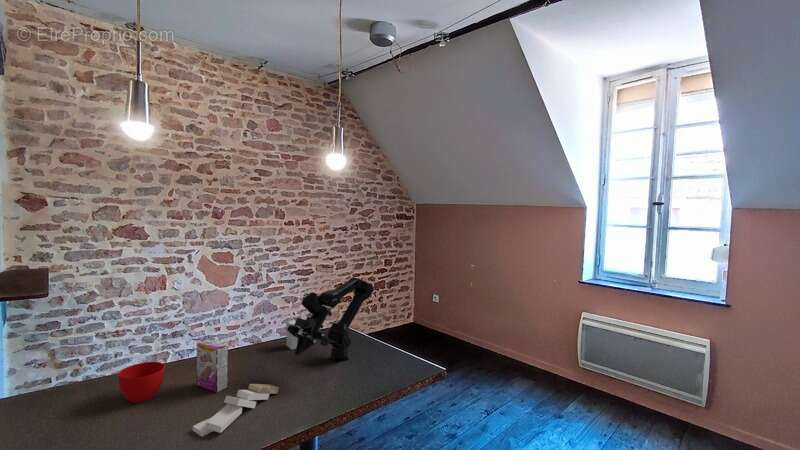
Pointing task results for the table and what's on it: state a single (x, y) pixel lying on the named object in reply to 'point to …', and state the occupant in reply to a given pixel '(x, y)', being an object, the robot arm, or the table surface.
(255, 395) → the domino
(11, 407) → the table surface
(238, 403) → the domino
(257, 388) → the domino
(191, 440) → the table surface
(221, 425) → the domino
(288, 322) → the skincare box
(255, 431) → the table surface
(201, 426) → the domino
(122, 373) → the red bowl
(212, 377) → the candy bar box
